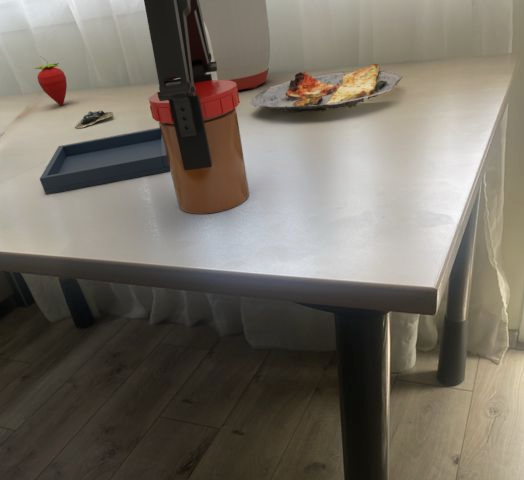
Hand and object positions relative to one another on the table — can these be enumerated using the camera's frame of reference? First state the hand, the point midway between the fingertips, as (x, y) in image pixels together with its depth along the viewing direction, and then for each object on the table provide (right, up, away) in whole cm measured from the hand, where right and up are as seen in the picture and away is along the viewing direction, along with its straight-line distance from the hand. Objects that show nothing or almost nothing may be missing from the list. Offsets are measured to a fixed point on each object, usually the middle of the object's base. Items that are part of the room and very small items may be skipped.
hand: (204, 152), depth 56 cm
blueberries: (-26, +22, +44) cm, 56 cm away
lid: (-1, +4, -3) cm, 6 cm away
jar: (+1, -4, +3) cm, 5 cm away
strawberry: (-39, +34, +63) cm, 82 cm away
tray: (-15, +5, +19) cm, 25 cm away
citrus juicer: (0, +33, +52) cm, 62 cm away
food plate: (+17, +20, +32) cm, 42 cm away
